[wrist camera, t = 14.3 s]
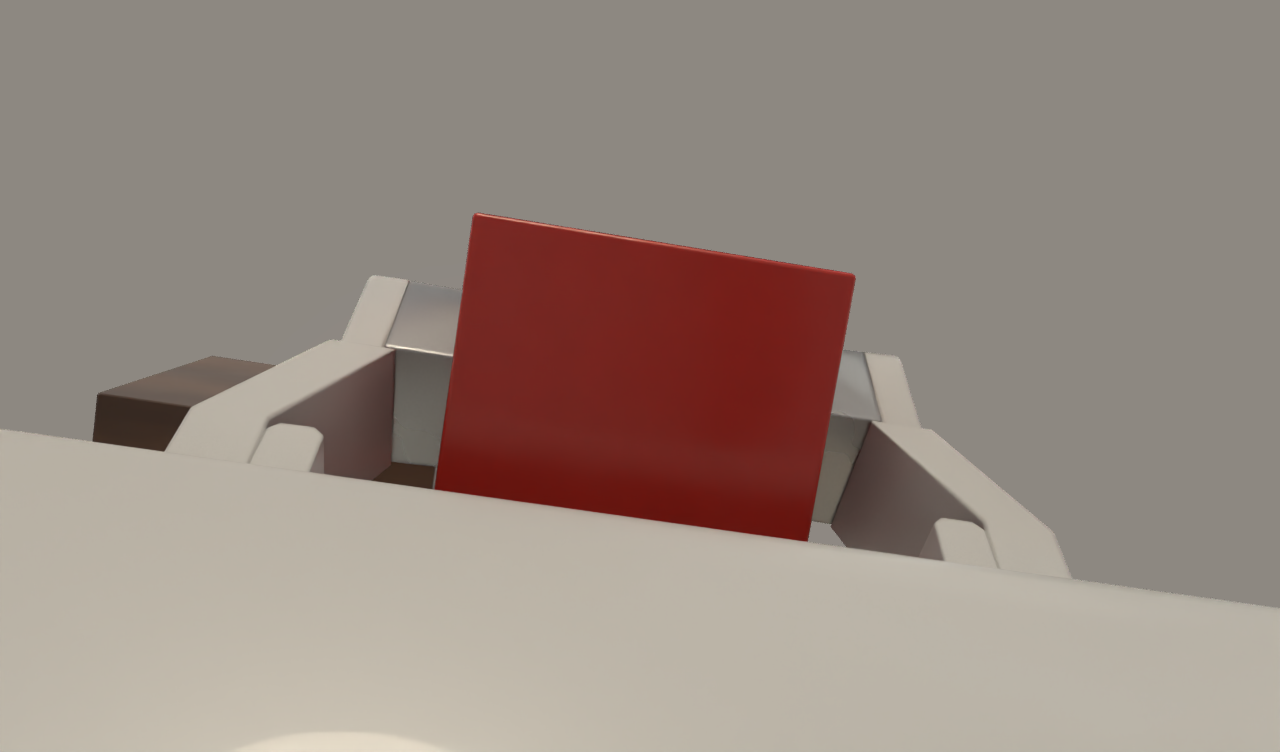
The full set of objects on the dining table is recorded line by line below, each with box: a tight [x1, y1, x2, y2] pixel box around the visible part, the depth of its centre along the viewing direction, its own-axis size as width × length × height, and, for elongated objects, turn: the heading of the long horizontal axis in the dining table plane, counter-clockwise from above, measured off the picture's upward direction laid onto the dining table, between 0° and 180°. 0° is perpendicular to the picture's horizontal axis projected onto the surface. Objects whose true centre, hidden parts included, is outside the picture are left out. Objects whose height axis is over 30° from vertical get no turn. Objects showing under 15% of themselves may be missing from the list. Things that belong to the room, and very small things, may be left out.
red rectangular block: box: [434, 213, 856, 542], centre depth 21 cm, size 20×4×4 cm, turn 4°
